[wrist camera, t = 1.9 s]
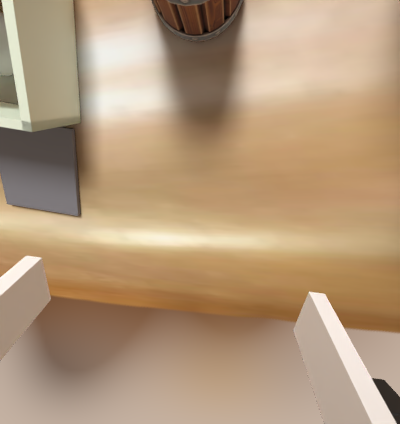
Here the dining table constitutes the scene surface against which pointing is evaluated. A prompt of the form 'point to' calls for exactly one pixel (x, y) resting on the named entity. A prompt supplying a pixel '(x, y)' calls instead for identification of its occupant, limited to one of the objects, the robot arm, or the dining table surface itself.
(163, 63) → the dining table surface
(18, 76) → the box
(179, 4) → the mug
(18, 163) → the mat
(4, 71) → the cup
